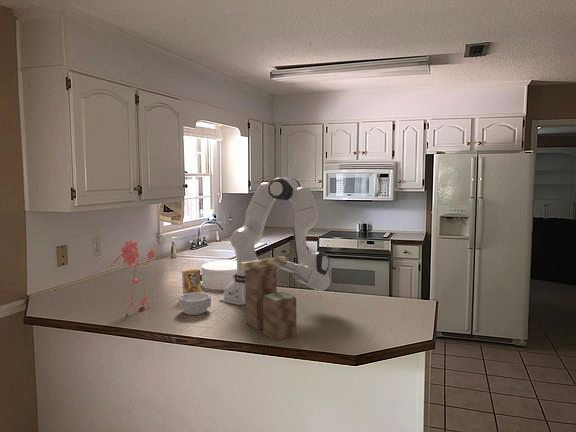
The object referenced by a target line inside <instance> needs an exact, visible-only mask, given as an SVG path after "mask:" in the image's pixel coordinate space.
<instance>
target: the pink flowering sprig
mask: <svg viewBox="0 0 576 432" xmlns="http://www.w3.org/2000/svg"><path fill="white" fill-rule="evenodd" d="M137 245H138V241H136V240H135V241H133V240H132V239H129V240H125V244H124V246H121V253H120V255H118V257H117V258H115V260H114V261H113V262H112V264H111V265H110V266H111V267H112V266H114V264H116V262H117V261H118V260H119V259H120V258H121V257H122V258H123V260H122V261H123V264H127V266H128V267H129V269H132V268H133V279H132V281H131V282H132V284H131V290H130V291H131V293H130V294H131V297H130V298H131V302H130V305H129V306H128V307H129V308H128V309H127V311H126V313H128V312H129V311H130V309H131V307H132V306H133V309H134V312H135V313H136V315H139V314H138V313H139V312H138V311H137V309H136V307H135V304H134V300H133V288H134V287H133V286H134V285H136V284H138V283H139V284H142V285H146V283H145V282H141V281H139V280H138V279H137V278H135V277H136V268H137V267H138V266H140V265H141V266H148V264H149V262H150V261H151V259H153V258H154V256H155V254H156V252H155V251H154V250H152V249H151V250H150V251H149V252H147V256H146V257H147V259H148V260H147V263H141V262H140V263H139V260H138V259H139V258H140V252H139V247H138V246H137ZM143 296H144V297H142V299H141V300H140V305H141V306H142V307H143V306H145V304H147V306H148V309H151V307H150V304H149V302H148V299H149V298H148V296H147V295H146V291H144V295H143ZM156 305H158V306H159V305H160V304H159V303H158V304H156Z"/></svg>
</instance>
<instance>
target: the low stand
mask: <svg viewBox="0 0 576 432" xmlns="http://www.w3.org/2000/svg"><path fill="white" fill-rule="evenodd" d="M297 330H298V329H297V297H295V296H294V294H293V295H292V294H289V293H288V292H285V291H278V292H277V293H272V294H267V295H264V296H263V334H264V335H266V336H267V337H269V338H271V339H273V340H275V341H280V340H283V339H288V338H292V337H296V336H297V332H298V331H297Z"/></svg>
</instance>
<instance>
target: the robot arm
mask: <svg viewBox="0 0 576 432" xmlns="http://www.w3.org/2000/svg"><path fill="white" fill-rule="evenodd" d="M276 201H290V202H291V203H292V206H293V207H292V208H293V211H294V216H295V220H294V221H295V222H294V225H293V240H294V250H295V262H291V261H288V260H287V261H286V262H285V264H282V265H275V267H277V268H279V269H282V270H284V271H285V272H289V273H292V278H293V280H295V281H297V282H298V283H300V284H303V285H306V286H307V287H309V288H311V289H312V290H316V291H317V292H322V291H325V290H326V289H328V287H329V286H330V285H331V278H330V276H329V267H330V262H331V261H330V258H329V256H328V254H327V252H324V251H315V252H311V253H308V247H307V246H308V245H307V235H308V232H309V231H310V230H311V229H312V228H313V227H314V226H315V225H316V224H317V222H318V220H319V212H318V207H317V204H316V200H315V197H314V195H313V192H312V190H311V189H310V187H307V186H301V184H300V182H299V181H298V180H297V179H296V178H293V177H275V178H274V179H272V180H271V181H270V182H268V181H267V182H261V183H260V184H259V185H258V187H257V188H256V190H255V192H254V194H253V196H252V197H251V200H250V202H249V204H248V207H247V209H246V211H245V219H244V223H243V225H242V226H241V227H239V228H237V229H235V231H233V233H232V234H231V235H230V244H231V247H233V249H234V254H235V258H236V259H235V260H237V274H235V275H234V277H235V279H234V281H233V282H232V283H231V284H229V285H228V286H227V287H226V288H225V290H223V295H222V296H220V297H219V301H220V302H223V303H224V302H225V303H227V304H232V305H237V306H238V305H239V306H242V305H246V292H245V270H241V266H240V262H246V261H253V260H259V258H258V256H257V252H256V249H255V245H258V244H259V243H260V241H261V240H262V238H263V233H264V228H265V226H266V222H267V219H268V217H269V216H270V215H269V214H270V212H271V210H272V208H273V205H274V203H275V202H276ZM234 277H233V278H234Z"/></svg>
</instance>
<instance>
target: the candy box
mask: <svg viewBox="0 0 576 432" xmlns="http://www.w3.org/2000/svg"><path fill="white" fill-rule="evenodd" d="M181 274H182V276H181V278H182V280H181V281H182V295H183V294H187V293H197V292H198V293H202V288H201V287H202V283H201V282H202V279H201V269H199V268H193V269H184V270H182V271H181Z"/></svg>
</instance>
